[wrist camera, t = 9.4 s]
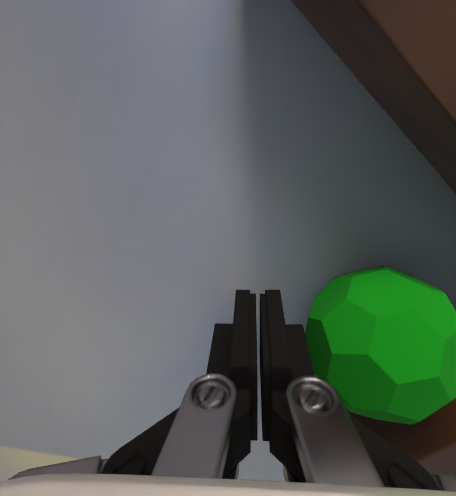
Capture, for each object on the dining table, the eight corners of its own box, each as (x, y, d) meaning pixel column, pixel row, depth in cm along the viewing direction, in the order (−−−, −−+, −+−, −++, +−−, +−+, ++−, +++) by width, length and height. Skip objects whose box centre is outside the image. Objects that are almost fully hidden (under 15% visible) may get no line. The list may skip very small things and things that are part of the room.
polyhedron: (361, 220, 12) (440, 288, 7) (444, 292, 13) (555, 389, 8) (270, 309, 13) (288, 409, 9) (351, 366, 14) (403, 479, 10)
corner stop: (47, 216, 12) (-23, 254, 9) (290, -139, 8) (317, -302, 5) (346, 442, 17) (369, 522, 13) (616, 289, 12) (748, 354, 9)
